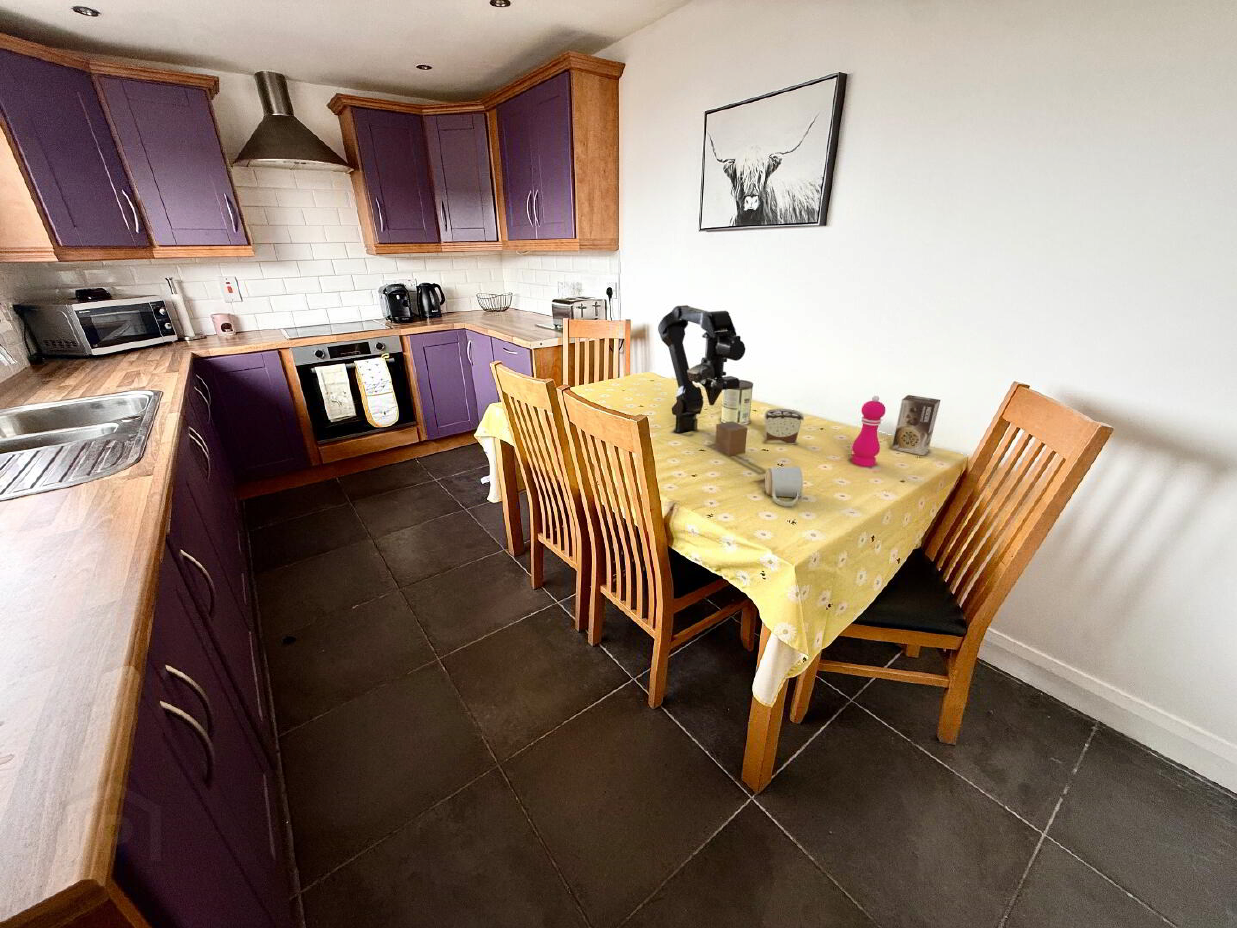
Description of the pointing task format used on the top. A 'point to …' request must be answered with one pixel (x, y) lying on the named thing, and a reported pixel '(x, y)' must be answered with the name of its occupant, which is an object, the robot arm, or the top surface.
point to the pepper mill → (868, 434)
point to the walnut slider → (730, 438)
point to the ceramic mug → (784, 483)
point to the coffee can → (737, 403)
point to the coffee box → (915, 424)
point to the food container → (783, 425)
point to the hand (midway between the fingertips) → (711, 405)
